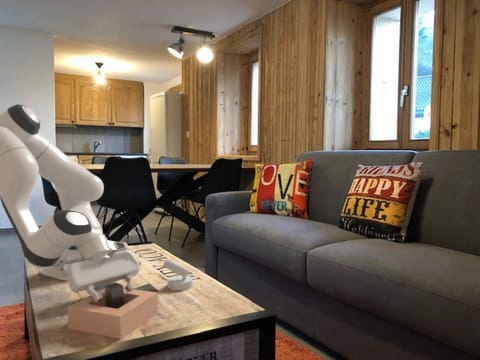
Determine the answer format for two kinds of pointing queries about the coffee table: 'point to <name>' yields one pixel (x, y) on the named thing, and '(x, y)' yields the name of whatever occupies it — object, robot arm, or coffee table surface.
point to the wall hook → (178, 276)
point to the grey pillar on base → (114, 296)
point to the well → (113, 314)
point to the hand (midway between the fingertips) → (115, 295)
